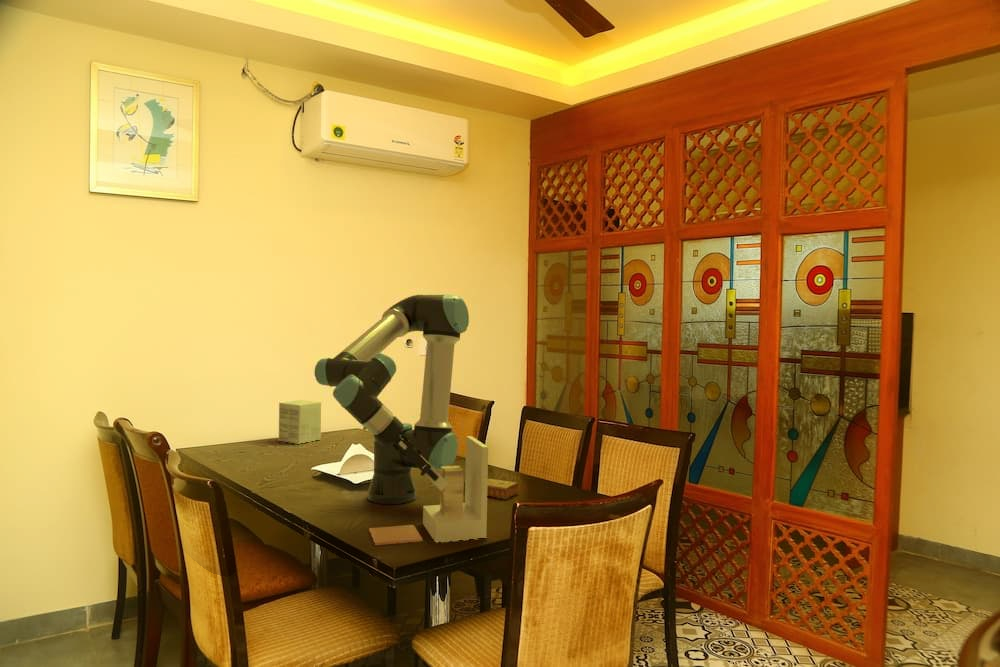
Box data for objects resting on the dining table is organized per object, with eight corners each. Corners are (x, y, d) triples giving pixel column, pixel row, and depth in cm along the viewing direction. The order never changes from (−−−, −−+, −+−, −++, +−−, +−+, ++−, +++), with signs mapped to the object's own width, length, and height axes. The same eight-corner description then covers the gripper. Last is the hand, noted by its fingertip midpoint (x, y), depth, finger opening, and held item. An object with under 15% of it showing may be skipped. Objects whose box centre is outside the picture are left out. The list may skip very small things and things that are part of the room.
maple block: (439, 510, 181) (440, 466, 181) (457, 509, 183) (458, 465, 182) (444, 516, 176) (445, 471, 176) (462, 515, 178) (463, 470, 177)
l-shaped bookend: (422, 523, 185) (424, 437, 185) (469, 520, 189) (471, 436, 189) (435, 542, 170) (437, 449, 169) (486, 538, 174) (488, 447, 174)
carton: (506, 501, 211) (506, 487, 211) (463, 493, 219) (463, 480, 219) (518, 494, 218) (518, 481, 218) (476, 488, 226) (476, 475, 226)
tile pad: (369, 530, 179) (369, 528, 179) (413, 526, 182) (413, 524, 182) (375, 545, 167) (375, 543, 167) (422, 541, 171) (422, 539, 171)
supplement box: (300, 437, 308) (300, 399, 308) (321, 440, 302) (321, 402, 301) (277, 441, 297) (278, 402, 296) (299, 445, 290) (299, 405, 290)
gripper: (367, 427, 183) (419, 479, 188) (379, 445, 159) (439, 504, 164) (387, 408, 185) (438, 460, 190) (401, 422, 161) (460, 481, 166)
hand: (439, 480), depth 177 cm, fingers open, 13 cm apart
